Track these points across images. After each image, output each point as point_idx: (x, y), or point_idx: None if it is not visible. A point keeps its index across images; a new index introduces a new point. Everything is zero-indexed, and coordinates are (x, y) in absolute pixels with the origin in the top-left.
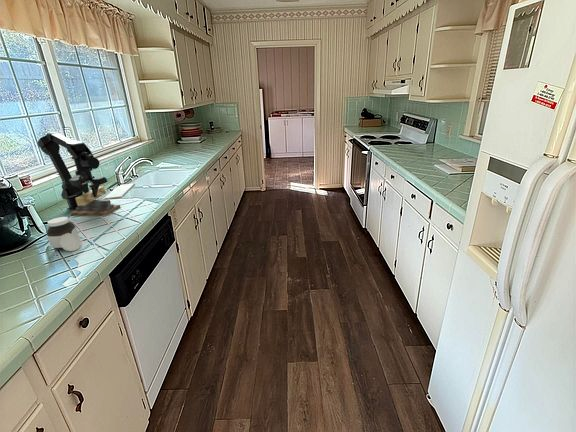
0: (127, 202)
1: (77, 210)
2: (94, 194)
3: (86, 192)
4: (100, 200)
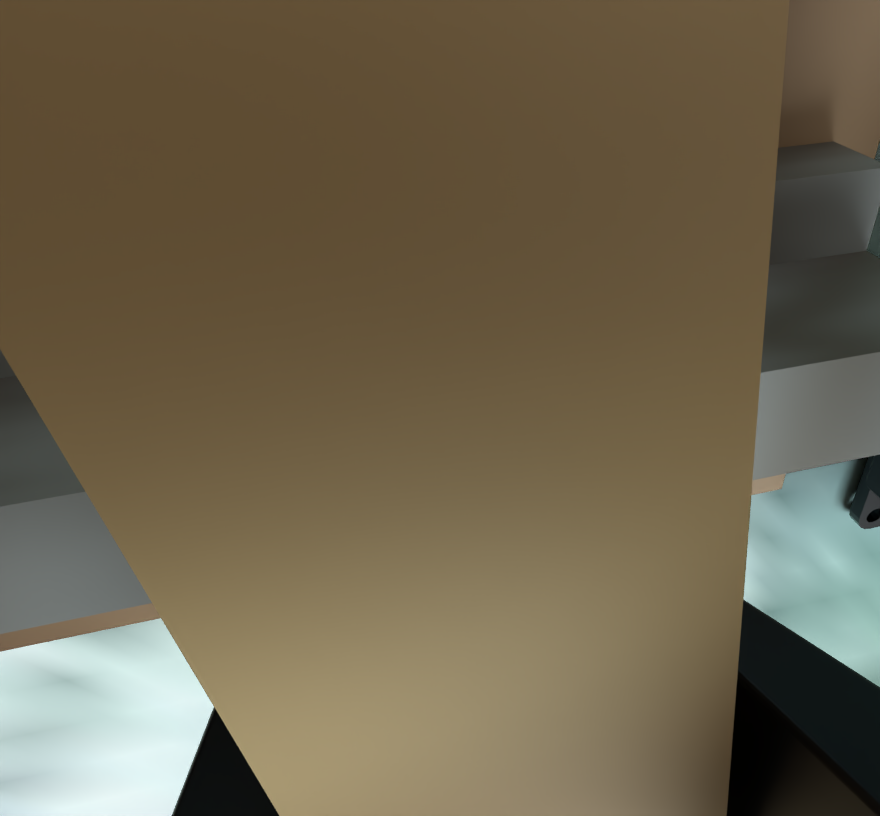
0: (68, 808)
1: (813, 135)
2: (200, 749)
3: (727, 744)
4: (80, 566)
